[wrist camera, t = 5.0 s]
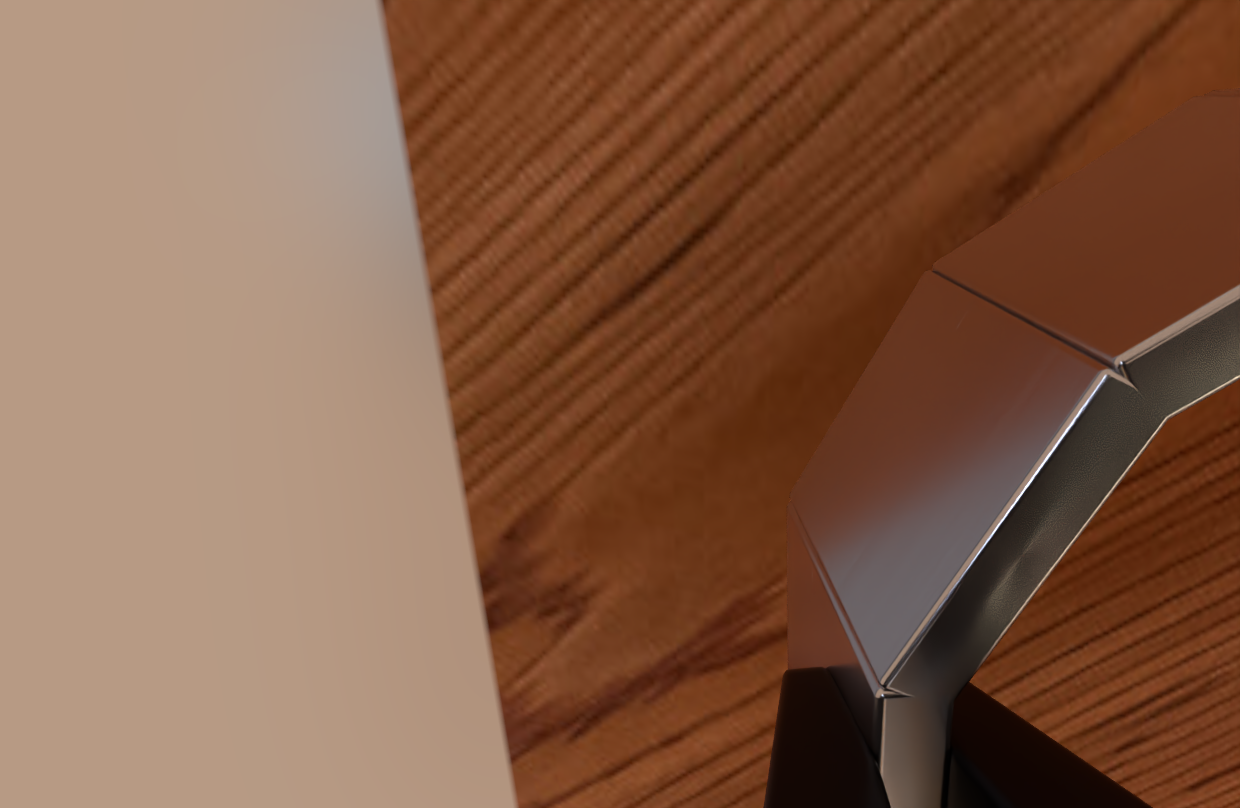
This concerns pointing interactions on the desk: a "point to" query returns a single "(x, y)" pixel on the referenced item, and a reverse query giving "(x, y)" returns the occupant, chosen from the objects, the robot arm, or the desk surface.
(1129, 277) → the steel ring
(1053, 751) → the robot arm
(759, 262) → the desk surface
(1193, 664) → the desk surface
